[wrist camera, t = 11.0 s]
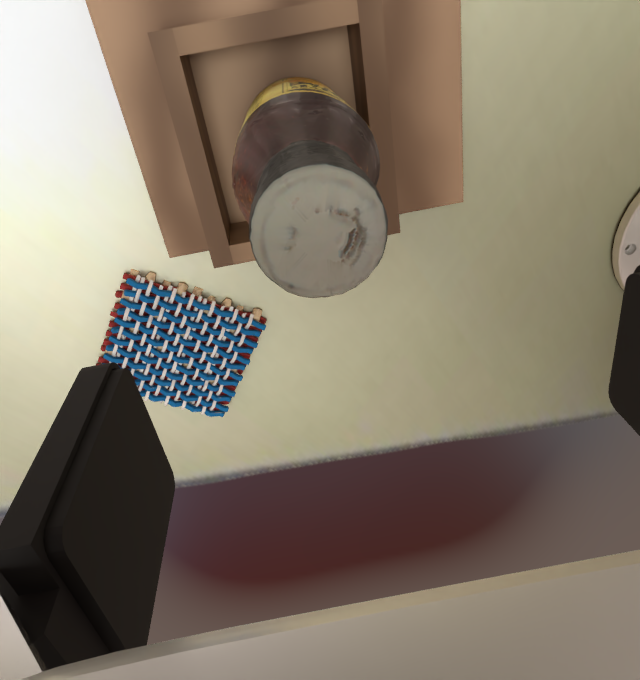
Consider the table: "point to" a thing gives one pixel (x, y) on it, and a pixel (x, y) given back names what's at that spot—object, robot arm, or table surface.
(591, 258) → the table surface
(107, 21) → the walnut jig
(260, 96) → the sauce bottle
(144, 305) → the woven mat
